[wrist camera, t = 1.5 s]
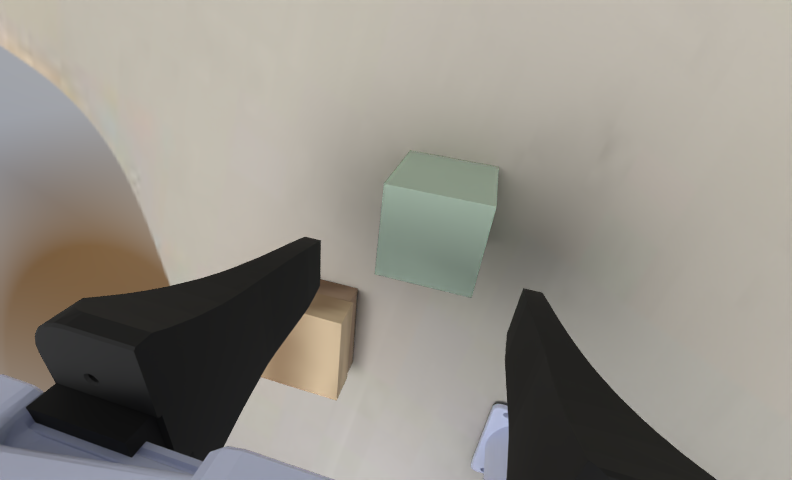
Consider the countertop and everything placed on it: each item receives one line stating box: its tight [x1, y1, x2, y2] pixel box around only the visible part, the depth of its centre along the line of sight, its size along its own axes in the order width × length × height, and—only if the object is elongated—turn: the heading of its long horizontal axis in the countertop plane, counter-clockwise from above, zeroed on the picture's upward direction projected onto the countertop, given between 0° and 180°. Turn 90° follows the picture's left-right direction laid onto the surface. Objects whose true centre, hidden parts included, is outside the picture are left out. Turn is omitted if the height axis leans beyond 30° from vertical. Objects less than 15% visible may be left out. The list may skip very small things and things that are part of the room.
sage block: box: [375, 150, 499, 298], centre depth 18 cm, size 4×4×5 cm
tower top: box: [261, 293, 353, 401], centre depth 25 cm, size 7×7×2 cm
